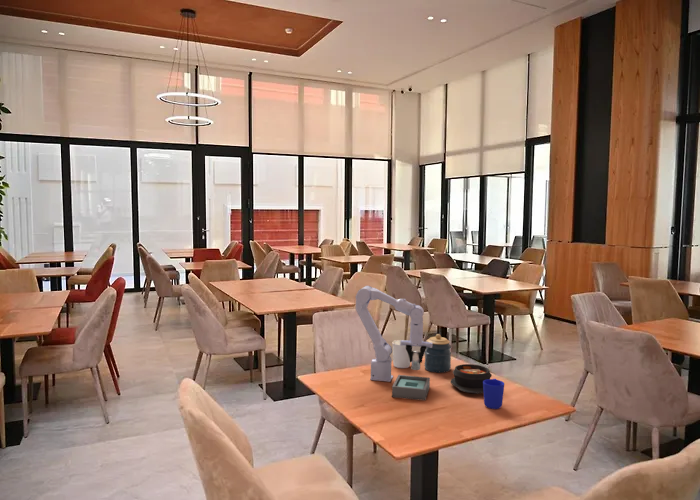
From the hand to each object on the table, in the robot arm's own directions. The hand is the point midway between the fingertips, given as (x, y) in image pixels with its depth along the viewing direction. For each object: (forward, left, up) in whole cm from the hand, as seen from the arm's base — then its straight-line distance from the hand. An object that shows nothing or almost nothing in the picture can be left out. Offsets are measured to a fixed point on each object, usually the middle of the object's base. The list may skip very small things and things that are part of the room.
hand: (415, 361), depth 229 cm
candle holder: (-10, +22, -10) cm, 26 cm away
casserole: (+25, 0, -10) cm, 27 cm away
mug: (+34, -19, -10) cm, 40 cm away
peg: (0, 0, -3) cm, 3 cm away
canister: (+8, +22, -10) cm, 25 cm away
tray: (0, -14, -9) cm, 17 cm away
